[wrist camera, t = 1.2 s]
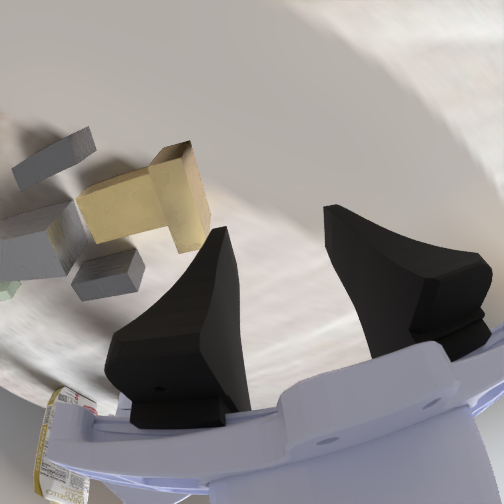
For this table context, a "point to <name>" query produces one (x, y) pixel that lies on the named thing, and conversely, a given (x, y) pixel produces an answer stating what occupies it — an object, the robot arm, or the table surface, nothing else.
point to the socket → (97, 270)
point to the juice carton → (50, 474)
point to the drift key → (151, 201)
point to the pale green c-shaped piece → (8, 289)
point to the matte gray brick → (41, 243)
